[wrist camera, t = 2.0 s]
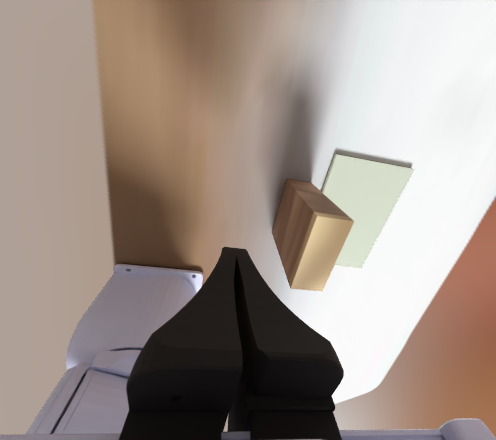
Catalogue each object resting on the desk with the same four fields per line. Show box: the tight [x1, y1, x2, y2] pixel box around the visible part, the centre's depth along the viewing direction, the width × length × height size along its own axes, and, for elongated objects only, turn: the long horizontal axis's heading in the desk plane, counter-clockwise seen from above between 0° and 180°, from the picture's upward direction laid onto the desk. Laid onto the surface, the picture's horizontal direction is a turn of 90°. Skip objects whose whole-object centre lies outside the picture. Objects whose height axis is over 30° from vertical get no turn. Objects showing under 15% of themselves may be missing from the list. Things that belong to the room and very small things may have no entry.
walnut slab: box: [272, 179, 354, 291], centre depth 18 cm, size 2×6×8 cm, turn 169°
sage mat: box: [321, 154, 414, 268], centre depth 22 cm, size 8×12×1 cm, turn 170°
